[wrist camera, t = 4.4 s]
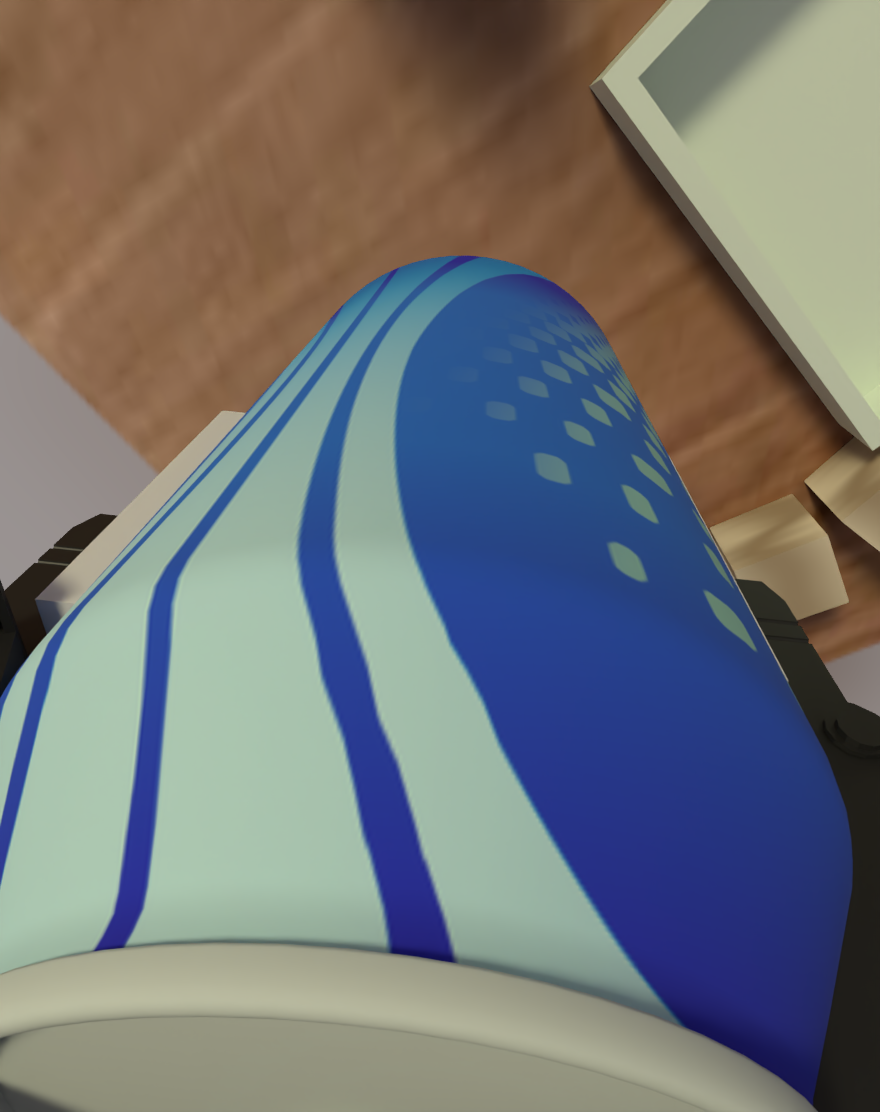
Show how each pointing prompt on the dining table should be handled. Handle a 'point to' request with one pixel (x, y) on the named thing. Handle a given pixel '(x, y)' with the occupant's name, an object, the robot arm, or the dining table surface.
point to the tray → (774, 168)
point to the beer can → (419, 759)
